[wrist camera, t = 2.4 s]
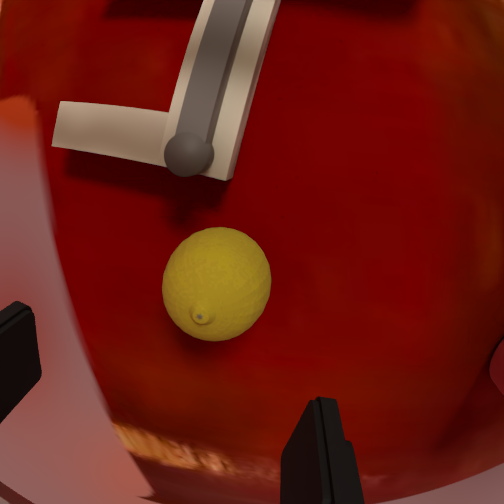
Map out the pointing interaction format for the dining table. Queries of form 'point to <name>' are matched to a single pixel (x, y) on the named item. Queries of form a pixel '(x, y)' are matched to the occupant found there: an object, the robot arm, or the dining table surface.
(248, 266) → the lemon
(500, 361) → the beer can
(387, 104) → the dining table surface
